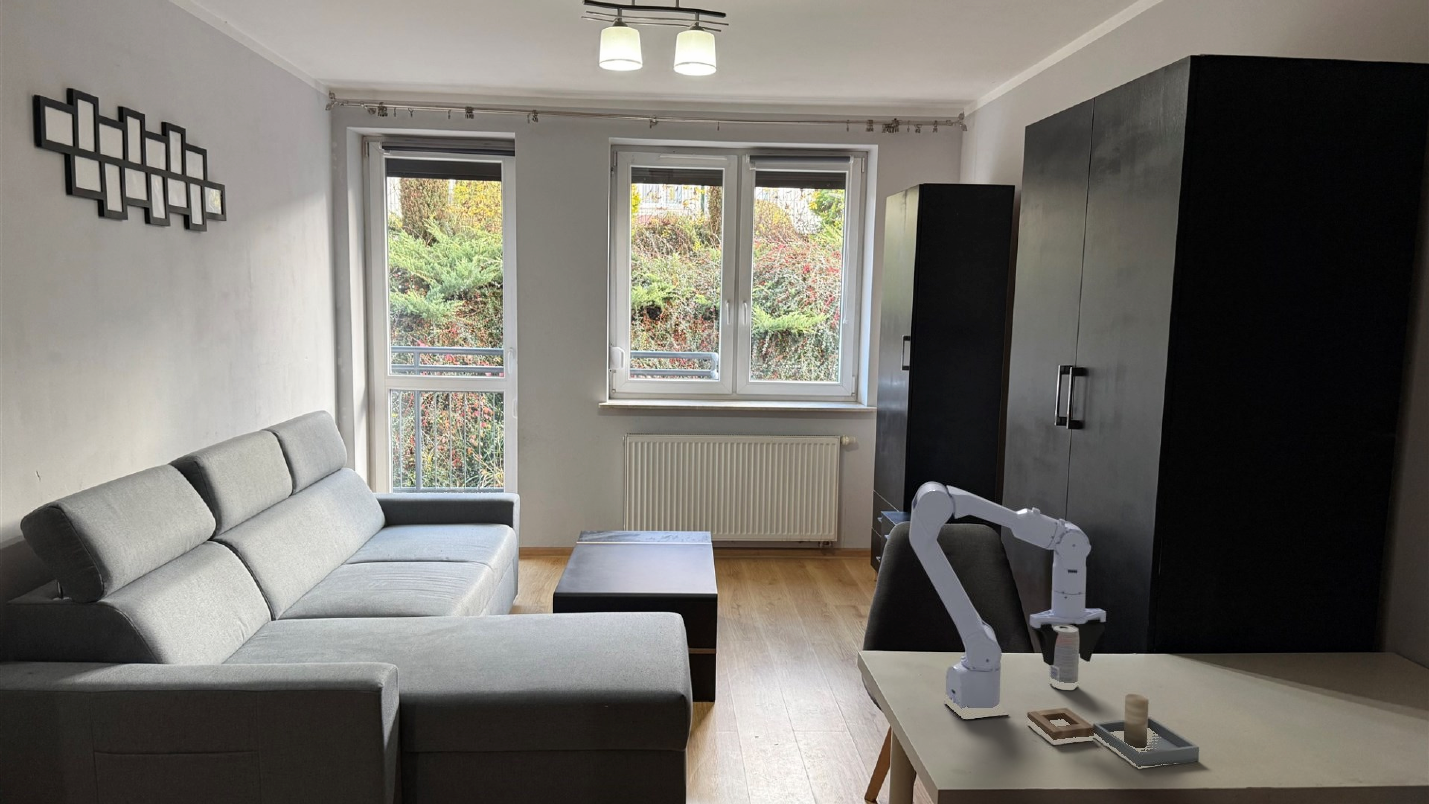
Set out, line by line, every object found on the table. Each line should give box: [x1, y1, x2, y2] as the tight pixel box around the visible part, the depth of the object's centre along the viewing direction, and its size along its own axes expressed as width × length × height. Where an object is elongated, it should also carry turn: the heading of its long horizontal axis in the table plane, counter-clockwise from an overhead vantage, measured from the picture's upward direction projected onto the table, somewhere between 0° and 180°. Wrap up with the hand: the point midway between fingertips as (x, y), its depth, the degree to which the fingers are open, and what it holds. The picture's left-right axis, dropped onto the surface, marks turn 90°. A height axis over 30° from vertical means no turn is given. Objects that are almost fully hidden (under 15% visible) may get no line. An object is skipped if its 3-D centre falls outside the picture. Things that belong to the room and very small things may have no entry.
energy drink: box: [1049, 624, 1080, 683], centre depth 176 cm, size 5×5×12 cm
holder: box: [1026, 707, 1094, 740], centre depth 156 cm, size 8×8×2 cm
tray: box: [1092, 716, 1200, 767], centre depth 150 cm, size 12×12×2 cm
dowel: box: [1123, 693, 1150, 748], centre depth 151 cm, size 4×4×8 cm
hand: (1066, 661), depth 162 cm, fingers open, 7 cm apart
